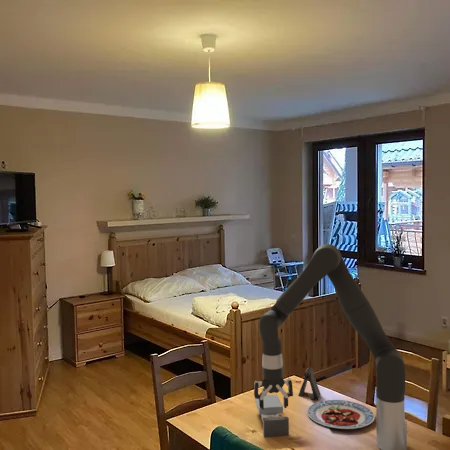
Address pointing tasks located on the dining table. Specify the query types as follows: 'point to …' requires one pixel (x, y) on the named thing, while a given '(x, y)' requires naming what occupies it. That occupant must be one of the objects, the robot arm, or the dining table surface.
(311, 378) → the grey a-frame stand
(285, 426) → the bar
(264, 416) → the roller middle
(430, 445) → the dining table surface
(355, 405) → the ceramic plate
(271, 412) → the slab
